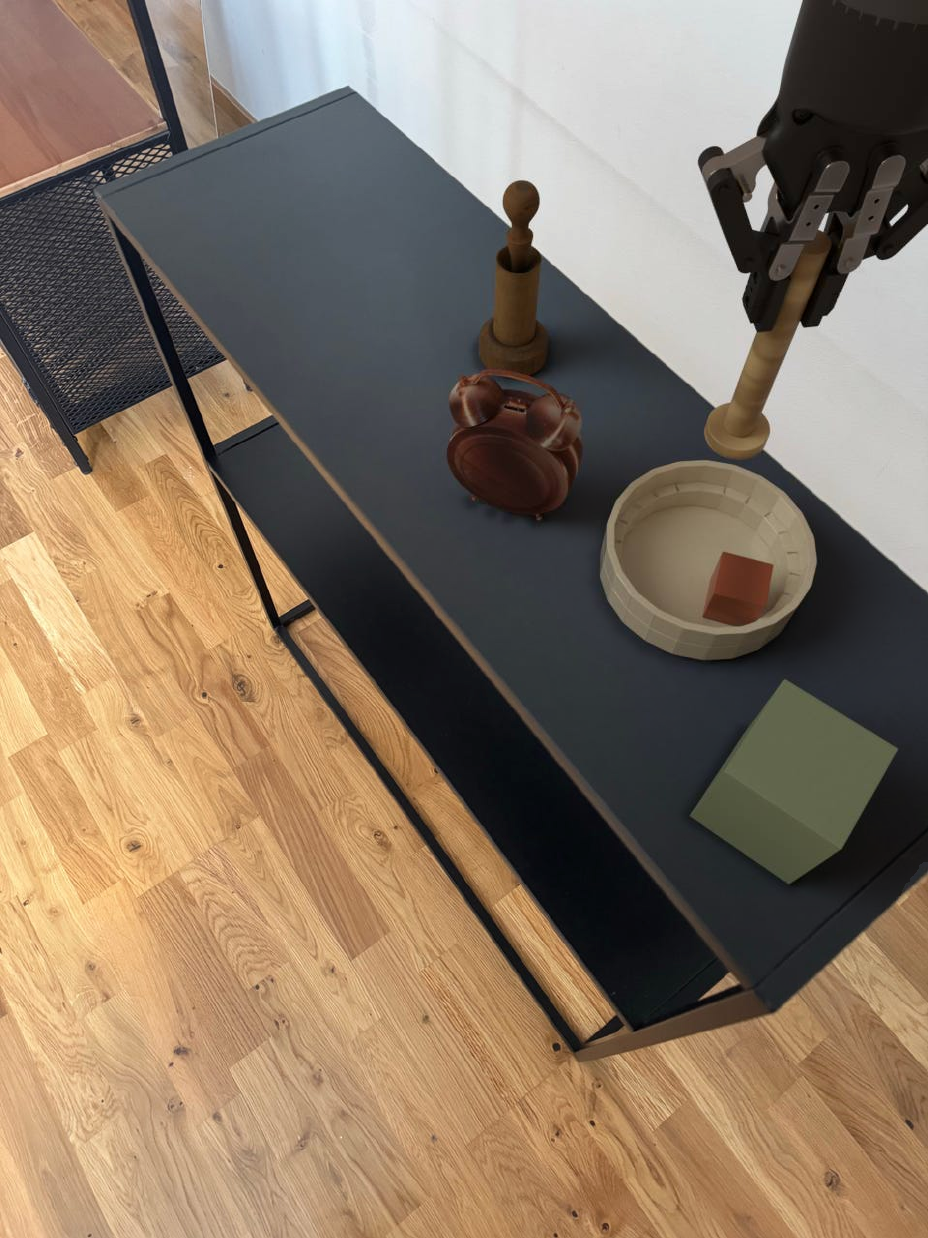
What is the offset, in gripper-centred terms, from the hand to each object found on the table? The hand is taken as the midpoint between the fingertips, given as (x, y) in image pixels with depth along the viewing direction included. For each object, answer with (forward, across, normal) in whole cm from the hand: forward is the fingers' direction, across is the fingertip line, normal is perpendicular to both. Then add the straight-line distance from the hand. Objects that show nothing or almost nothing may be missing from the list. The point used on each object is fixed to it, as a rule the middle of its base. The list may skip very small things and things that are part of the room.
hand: (782, 317), depth 49 cm
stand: (+28, +2, -19) cm, 34 cm away
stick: (+10, 0, 0) cm, 10 cm away
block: (+28, +3, -3) cm, 28 cm away
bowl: (+28, +1, +1) cm, 28 cm away
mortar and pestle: (+28, -10, +28) cm, 40 cm away
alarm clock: (+28, -13, +10) cm, 33 cm away
